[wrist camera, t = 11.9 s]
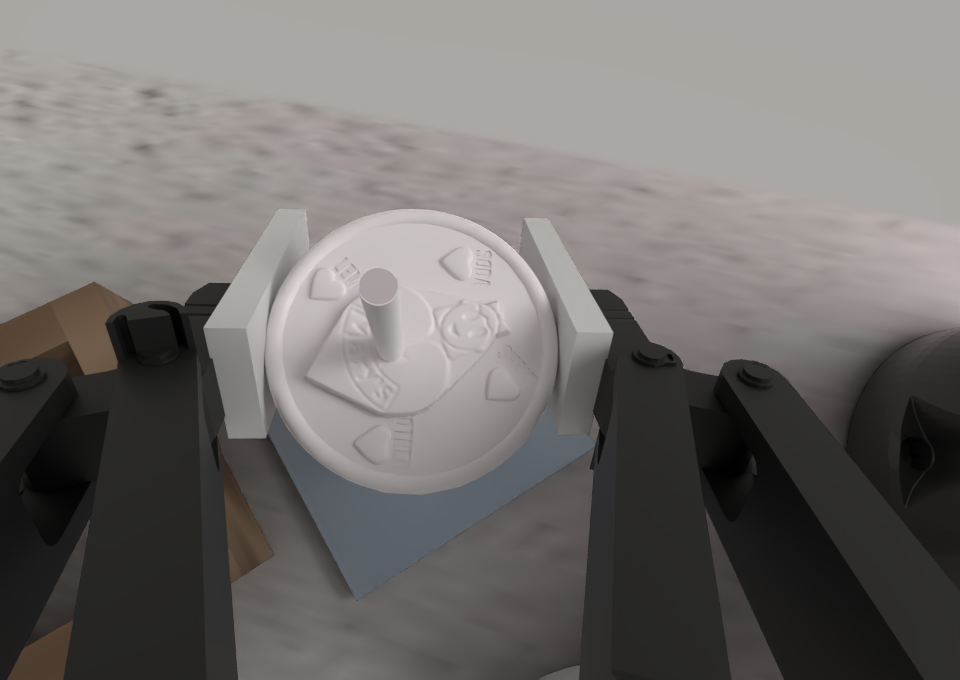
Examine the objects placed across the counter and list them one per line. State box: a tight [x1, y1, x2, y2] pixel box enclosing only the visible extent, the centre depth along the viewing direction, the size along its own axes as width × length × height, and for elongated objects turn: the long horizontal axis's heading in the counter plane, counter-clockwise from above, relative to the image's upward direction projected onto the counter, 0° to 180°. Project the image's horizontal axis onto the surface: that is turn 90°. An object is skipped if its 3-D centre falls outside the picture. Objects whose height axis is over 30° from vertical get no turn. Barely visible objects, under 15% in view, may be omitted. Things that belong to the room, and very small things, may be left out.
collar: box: [0, 282, 274, 680], centre depth 19 cm, size 11×11×4 cm
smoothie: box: [265, 209, 558, 495], centre depth 14 cm, size 6×6×14 cm
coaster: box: [268, 404, 595, 601], centre depth 23 cm, size 11×11×1 cm
